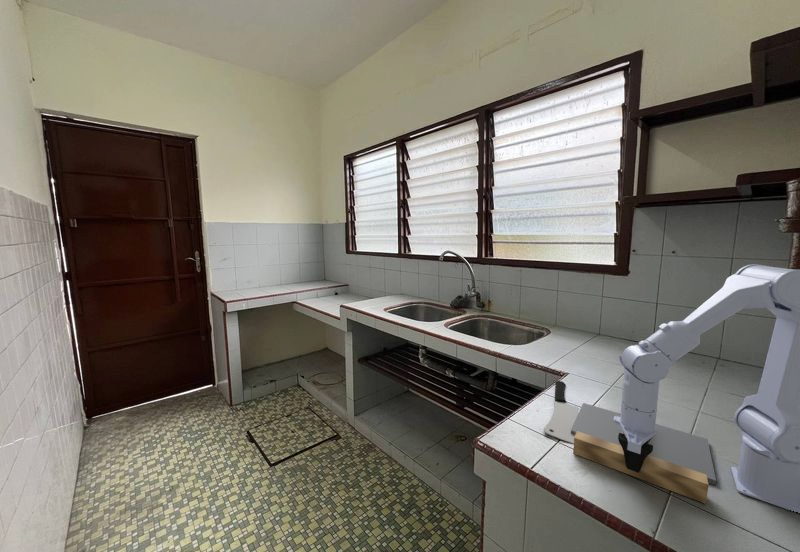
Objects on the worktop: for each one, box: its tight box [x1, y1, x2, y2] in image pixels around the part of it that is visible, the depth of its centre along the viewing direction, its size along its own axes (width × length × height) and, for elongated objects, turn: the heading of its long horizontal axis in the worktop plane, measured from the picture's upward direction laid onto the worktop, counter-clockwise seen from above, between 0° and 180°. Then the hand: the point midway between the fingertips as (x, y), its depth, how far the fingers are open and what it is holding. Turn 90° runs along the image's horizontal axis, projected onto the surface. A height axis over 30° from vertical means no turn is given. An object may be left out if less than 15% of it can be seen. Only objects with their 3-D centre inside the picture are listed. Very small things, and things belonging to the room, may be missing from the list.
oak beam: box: [572, 431, 709, 505], centre depth 66 cm, size 22×3×4 cm, turn 51°
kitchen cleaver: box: [543, 380, 579, 445], centre depth 90 cm, size 31×2×10 cm
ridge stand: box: [571, 402, 717, 486], centre depth 77 cm, size 26×16×4 cm, turn 50°
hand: (633, 464), depth 66 cm, fingers closed on oak beam, 3 cm apart
